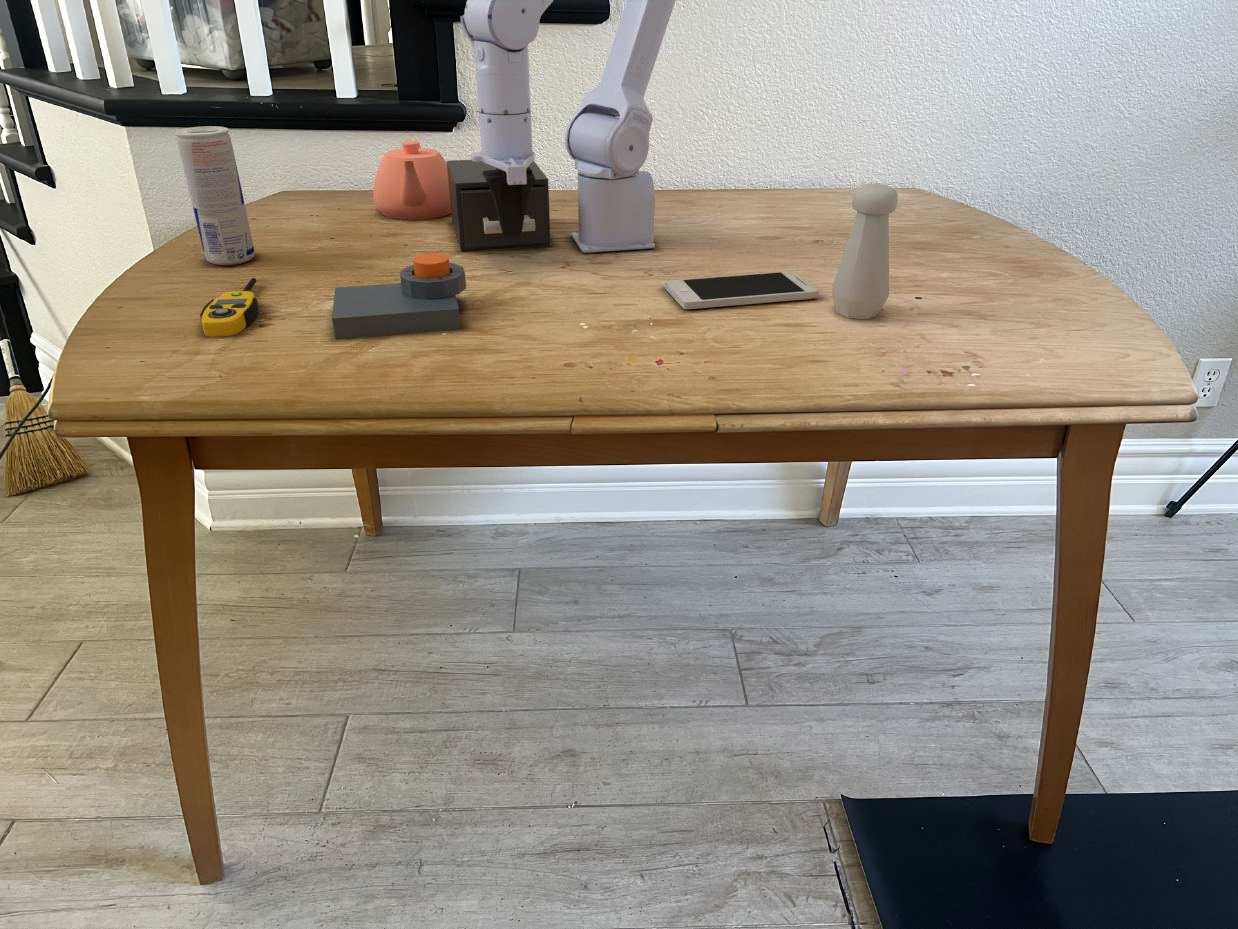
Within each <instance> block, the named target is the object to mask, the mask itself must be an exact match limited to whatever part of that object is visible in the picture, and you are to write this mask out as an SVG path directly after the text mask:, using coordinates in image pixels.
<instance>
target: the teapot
mask: <svg viewBox="0 0 1238 929" xmlns="http://www.w3.org/2000/svg"><path fill="white" fill-rule="evenodd" d="M420 144H421V143H420V141H418V140H405V141H403V142H401V146H402V148H397V149H392V150H388V151H386V152H385V153H384V155H383V156H382V158H381V160H380V162H379V165H378V168H377V170H376V173H375V176H374V181H373V190H372V198H373V203H374V206H375V207H376V208H377V209H378V210H379V212H380V213H381V214H382V215H383V216H385V217H387V218H390V219H395V220H396V219H397V220H398V219H399V220H427V219H436V218H441V217H445V216H448V215H451V205H450V194H449V183H448V172H447V160H446V159H445V158H444V156H443V155H442V154H441V152H440V151H439V150H437V149H434V148H426V147H422V146H421V145H420Z"/></svg>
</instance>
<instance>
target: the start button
mask: <svg viewBox="0 0 1238 929" xmlns="http://www.w3.org/2000/svg"><path fill="white" fill-rule="evenodd" d="M412 263H413V264H412V265H414V273H415V276H416V277H419V278H440V277H444V276H447V275H449V274H450V266H449V263H450V258H449V256H448V255H446V254H443V253H437V252H433V253H431V252H430V253H429V252H428V253H423V254H418V255H416V256H414V257H413V258H412Z"/></svg>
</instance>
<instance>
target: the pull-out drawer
mask: <svg viewBox="0 0 1238 929" xmlns="http://www.w3.org/2000/svg"><path fill="white" fill-rule="evenodd" d="M461 201H462V212H463V224H464V236H465V246H466V248H475V247H491V246H507V245H522V244H538V243H547V214H546V189H545V187H538V186H537V185H533V186H532V188H531V190H530V193H529V196H528V199H527V203H526V208H525V215H524V222H523V228H522V232H521V235H511V236H504V235H503V233H502V230H501V227H500V223H499V219H498V215H497V210H496V206H495V202H494V199H493V195H492V193H491V190H490V187H488V188H467V189H461Z"/></svg>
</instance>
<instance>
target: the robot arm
mask: <svg viewBox="0 0 1238 929" xmlns="http://www.w3.org/2000/svg"><path fill="white" fill-rule="evenodd" d="M553 2H554V0H466V3H465V8H464V14H463V15H461V16H460V24H461V27H462V30H463V32H464V34H465V36H466V38H467V39H468V40H469V41H470V43H471V47H472V54H473V55H472V57H473V58H474V66H475V79H476V95H477V108H478V121H479V135H480V147H481V148H480V149H481V151H475V152H471V153H470V156H471V157H470V158H471V159H470V160H472V161H473V162H483V163H485V164H488V165H490V166H493V167H495V168H496V170H486V171H483V172H482V174H483V176H484V178H485V180H486V181H487V183H488V185H489V187H490V190H491V193H492V195H493V199H494V202H495V206H496V210H497V215H498V219H499V223H500V227H501V230H502V233H503V235H504V236H511V235H521V232H522V228H523V222H524V215H525V208H526V203H527V199H528V196H529V193H530V190H531V188H532V186H533V184H534V181H535V176H534V174H532V170H531V168H530V167H528V166H529V165H530V164H531V163H532V162H533V161H534V162H535V151H534V150H533V132H532V130H533V128H532V127H533V126H532V109H531V108H532V106H531V84H530V82H531V81H530V62H529V61H530V60H529V58H530V57H529V45H530V43H532V42H534V41H535V40H536V38H537V35H538V32H539V29H540V20H541V18H542V17H541V16H543V14H544V13H545V11H547V9H548V7H549V6H550V5H551V4H552V3H553ZM675 3H676V0H625V2H624V6H623V9H622V13H621V16H620V19H619V21H618V24H617V28H616V31H615V35H614V37H613V41H612V44H611V46H610V49H609V54H608V55H607V59H606V62H605V66H604V69H603V72H602V76H601V79H600V81H599V83H598V84H597V85H595V86H594V87H593V88H592V89H590V91H588V92H586V94H585V95H583V96H582V99H581V102H580V105H579V108H578V109H577V110H576V112H575V114H573V116H572V117H571V119H570V120H569V122H568V123H567V126H566V129H565V133H564V144H565V148H566V151H567V153H568V155H569V156H570V158H571V159H572V160H573V161H574V169H575V170H577V212H578V213H577V214H578V215H577V218H578V222H577V223H578V231H572V232H570V237H571V238H572V240H573V242H575V244H576V245H577V247H578V248H579V250H580V251H581V253H584V254H585V253H587V254H588V253H601V252H602V253H603V252H616V251H618V252H619V251H631V250H633V251H634V250H646V249H648V250H649V249H655V248H656V244H655V242H654V240H655V239H654V238H655V210H656V209H655V208H656V207H655V206H656V194H655V192H656V191H655V183H654V180H653V176H652V174H651V172H649V171H647V170H640V169H641V168H642V167H643V165H644V164H645V163H646V160H647V157H648V155H649V150H650V131H651V128H652V124H653V121H654V117H653V114H652V113H651V110H650V109H649V107H648V105H647V104H646V102H645V99H644V98H645V94H646V91H647V88H648V85H649V84H650V83H649V82H650V79H651V76H652V73H653V70H654V68H655V64H656V61H657V58H658V55H659V52H660V49H661V46H662V43H663V40H664V36H665V33H666V31H667V28H668V24H669V22H670V19H671V16H672V13H673V9H674V7H675Z"/></svg>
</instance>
